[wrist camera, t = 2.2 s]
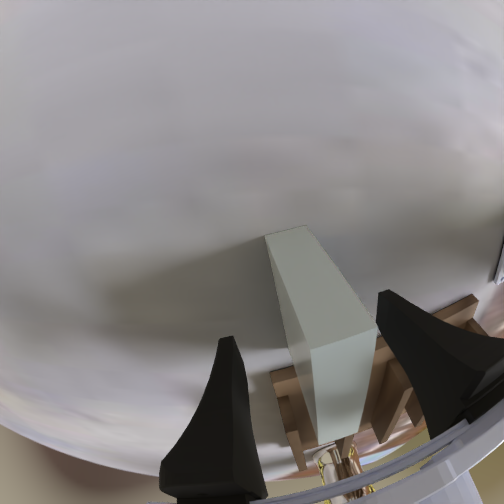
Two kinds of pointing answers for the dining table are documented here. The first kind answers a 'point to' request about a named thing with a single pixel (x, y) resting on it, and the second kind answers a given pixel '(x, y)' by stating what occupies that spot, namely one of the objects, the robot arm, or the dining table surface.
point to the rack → (378, 394)
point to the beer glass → (340, 471)
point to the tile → (323, 332)
